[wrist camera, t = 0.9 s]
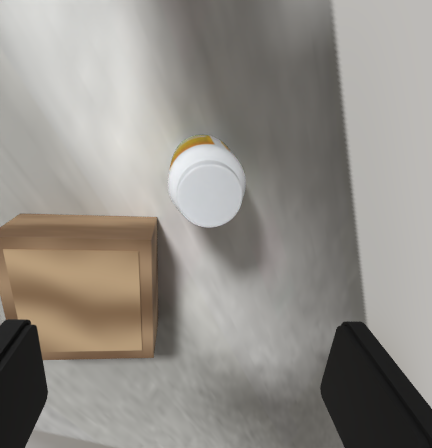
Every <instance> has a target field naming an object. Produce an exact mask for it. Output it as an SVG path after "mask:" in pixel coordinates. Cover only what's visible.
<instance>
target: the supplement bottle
mask: <svg viewBox="0 0 432 448" xmlns="http://www.w3.org/2000/svg"><path fill="white" fill-rule="evenodd" d="M245 188H246V178H245V173H244V170H243V168H242V166H241V164H240V162H239V160H238V159H237V158H236V156H235V155H234V154H233V153H232V152H231V151H230V149H229V148H228V147H227V146H226V145H225V144H224V143H223V142H222V141H220V140H219V139H217V138H215V137H213V136H210V135H195V136H192V137H189V138H187V139H186V140H184V141H183V142H182V143H181V144H180V145H179V146H178V147H177V149H176V151H175V152H174V155H173V157H172V161H171V165H170V170H169V174H168V191H169V195H170V198H171V200H172V202H173V204H174V205H175V207H176V208H177V209H178V210H179V211H180V212H181V213H182V214H183V216H184V217H185V218H186V219H187V220H188V221H190V222H191V223H193V224H195V225H197V226H200V227H206V228H213V227H218V226H221V225H223V224H226V223H227V222H229V221H230V220H231V219H232V218H234V216H235V215H236V214H237V212H238V211H239V209H240V207H241V204H242V199H243V197H244V193H245Z"/></svg>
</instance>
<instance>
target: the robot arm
mask: <svg viewBox="0 0 432 448" xmlns="http://www.w3.org/2000/svg"><path fill="white" fill-rule="evenodd" d="M320 390H321V395H322V398H323V401H324V403H325V405H326V407H327V409H328V412H329V414H330V416H331V418H332V420H333V423H334V425H335V427H336V429H337V431H338V434H339V436H340V438H341V440H342V442H343V445H344V447H345V448H432V409H431V407H430V406H429V405H428V403H427V402H426V401H425V400H424V399H423V397H422V396H421V395H420V394H419V392H418V391H417V390H416V388H415V387H414V386H413V384H412V383H411V382H410V381H409V380H408V378H407V377H406V376H405V374H404V373H403V372H402V371H401V369H400V368H399V367H398V366H397V364H396V363H395V362H394V360H393V359H392V358H391V357H390V355H389V354H388V353H387V352H386V350H385V349H384V348H383V347H382V345H381V344H380V343H379V341H378V340H377V339H376V338H375V336H374V335H373V334H372V333H371V331H370V330H369V329H368V328H367V326H366V325H365V324H364V323H363V322H343V323H342V325H341V326H338V327H337V329H336V333H335V336H334V340H333V343H332V347H331V350H330V354H329V357H328V361H327V365H326V368H325V372H324V375H323V379H322V382H321V387H320ZM47 394H48V389H47V383H46V377H45V371H44V365H43V359H42V354H41V348H40V342H39V336H38V330H37V326H36V325H32V324H31V321H30V320H27V319H8V320H5V321H4V322H3V323H2V324H1V326H0V448H25V446H26V444H27V442H28V439H29V437H30V435H31V433H32V431H33V429H34V427H35V424H36V422H37V420H38V418H39V416H40V414H41V411H42V409H43V407H44V405H45V402H46V399H47Z"/></svg>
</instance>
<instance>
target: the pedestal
mask: <svg viewBox="0 0 432 448" xmlns="http://www.w3.org/2000/svg"><path fill="white" fill-rule="evenodd" d="M0 296H1V300H2V305H3V309H4V313H5V317H6V320H8V319H27V320H30V321H31V324H32V325H36V326H37V330H38V336H39V342H40V348H41V354H42V359H43V360H66V359H114V358H154V350H155V342H156V334H157V327H158V259H157V217H129V216H91V215H52V214H19V215H18V216H16V217H15V218H13V219H12V220H10V221H9V222H7V223H6V224H5V225H3V226H2V227H0Z"/></svg>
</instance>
